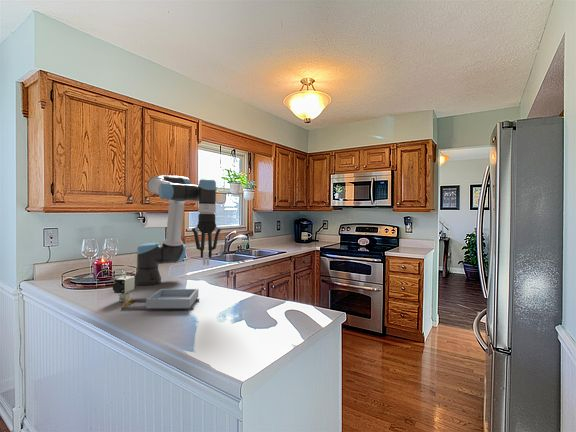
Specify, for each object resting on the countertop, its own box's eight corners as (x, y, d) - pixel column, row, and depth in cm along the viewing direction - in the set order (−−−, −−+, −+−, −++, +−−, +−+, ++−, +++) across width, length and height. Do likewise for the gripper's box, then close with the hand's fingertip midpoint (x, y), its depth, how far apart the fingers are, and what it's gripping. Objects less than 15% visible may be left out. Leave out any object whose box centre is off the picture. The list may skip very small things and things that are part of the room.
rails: (133, 300, 146) (133, 296, 146) (199, 300, 148) (199, 296, 148) (119, 309, 132) (119, 305, 132) (192, 309, 134) (193, 305, 134)
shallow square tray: (160, 296, 149) (160, 288, 149) (198, 296, 150) (198, 288, 150) (146, 308, 131) (146, 299, 131) (189, 308, 132) (189, 299, 132)
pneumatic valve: (136, 297, 151) (137, 273, 151) (121, 304, 140) (121, 278, 139) (126, 297, 152) (126, 272, 152) (110, 304, 140) (110, 277, 140)
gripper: (189, 213, 137) (188, 266, 137) (221, 213, 138) (220, 266, 138) (193, 213, 145) (192, 263, 145) (223, 213, 146) (222, 263, 146)
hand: (206, 264), depth 142 cm, fingers closed
